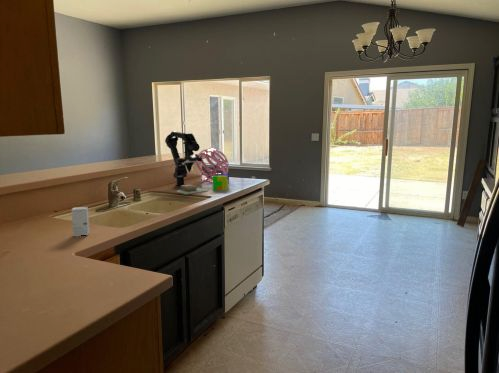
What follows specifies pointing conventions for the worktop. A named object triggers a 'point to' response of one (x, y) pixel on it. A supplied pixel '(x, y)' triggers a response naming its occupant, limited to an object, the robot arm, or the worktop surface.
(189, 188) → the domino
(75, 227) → the skincare box
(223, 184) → the puzzle toy
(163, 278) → the worktop surface
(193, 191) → the mat
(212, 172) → the spiral basket
